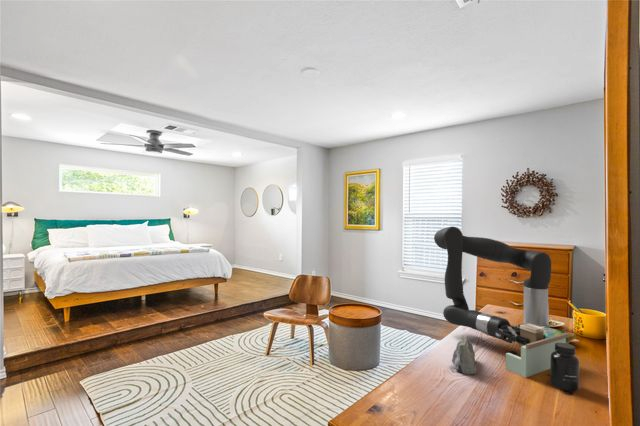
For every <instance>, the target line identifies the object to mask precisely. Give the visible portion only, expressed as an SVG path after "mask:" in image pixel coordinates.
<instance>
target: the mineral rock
mask: <svg viewBox="0 0 640 426" xmlns="http://www.w3.org/2000/svg"><path fill="white" fill-rule="evenodd" d="M475 357H476V355H475V350H474V347H473V344H472V343H471V341H470V340H468V337H467V336H464V338H462V339H460V340H459V341H458V342H457V344H456V348H455V349H454V350H453V354H452V359H451V361H452V364H453V365H454V369H455V371H456V372H458V373H463V374H465V375H474V374H477V370H476V369H477V367H476V360H475V359H476V358H475Z"/></svg>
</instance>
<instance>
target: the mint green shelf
mask: <svg viewBox="0 0 640 426" xmlns="http://www.w3.org/2000/svg"><path fill="white" fill-rule="evenodd" d="M568 333H569V332H566V333H564V334H560V335H557V336H553V337H550V338H546V339H543V340H539V341H536V342H533V343H529V344H526V345H525V346H521V357H520V355H519V356H518V355H516V354H513V353H511V352H507V353H505V370H507V371H509V372H512V373H514V374H516V375H519V376H520V377H523V378H528V377H531V376H534V375H537V374H540V373H542V372H545V371H548V370H550V364H551V354H552V352H554V351H555V343H558V342H560V343H566V338H567V337H568Z"/></svg>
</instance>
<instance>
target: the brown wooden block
mask: <svg viewBox="0 0 640 426" xmlns="http://www.w3.org/2000/svg"><path fill="white" fill-rule="evenodd" d="M519 325H520V336H522V337H525V338H528V339H530V343H533V342H536V341H539V340H543V338H544V328H542V327H539V326H535V325H532V324H529V323H528V324H519ZM521 346H525V345H523V344H521V343H520V344H519V357H521Z"/></svg>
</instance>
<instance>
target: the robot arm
mask: <svg viewBox="0 0 640 426" xmlns="http://www.w3.org/2000/svg"><path fill="white" fill-rule="evenodd" d="M433 239H434V242H435V244H436V245H437V247H438V248H440V249H442V250H446V251H447V265H446V269H445V274H444V289H445V296H446V298H447V299H450V300H452V303H453V304H452V305H448V306H446V307H445V308H444V309H443V312H442V313H443V317H444V320H446V321H447V322H448V323H450V324H453V325H456V326H461V327H467V328H470V329H473V330H475V331H478V332H481V333H483V334H484V335H487V336H490V337H492V338H494V339H498V340H501V341H504V342H506V343H509V344H513V343H514V344H519V343H521V344H523V345H526V344H529V343H530V339H528V338H525V337H522V336H520V325H521V324H517V325H514V324H513V325H511V323H510V321H509V320H508V319H507V318H504V317H500V316H497V315H493V314H490V313H485V312H482V311H479V310H471V309H470V308H469V305H468V302H467V299H466V297H465V293H464V284H463V283H464V282H463V270H462V269H463V268H462V267H463V262H462V261H463V253H465V254H468V255H471V256H474V257H477V258H481V259H484V260H488V261H491V262H497V263H501V264H502V263H504V264H505V263H506V264H511V265H514V266H517V267H519V268H521V269H524V270H526V271H530V276H529V278H525V279H524V280H523V317H522V318H523V324H522V325H524V324H528V323H529V324H532V325H535V326H539V327H542V326H545V327H549V326H550V325H549V322H550V321H549V320H550V319H549V315H550V313H549V312H550V311H549V310H550V308H549V306H550V305H549V285H550V283H551V279H552V278H551V277H552V258H551V257H550V255H549V254H547V253H546V252H543V251H537V250H530V249H529V250H528V249H522V248H516V247H512V246H510V245H508V244H507V243H505V242H503V241H499V240H495V239H492V238H487V237H479V236H466V235H463V233H462V230H461V229H460V228H458V227H456V226H449V227H445V228H441V229H439V230H438V231H436V232H435V234H434V237H433ZM548 325H549V326H548ZM543 339H546V336H545V335H544V338H543Z"/></svg>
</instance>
